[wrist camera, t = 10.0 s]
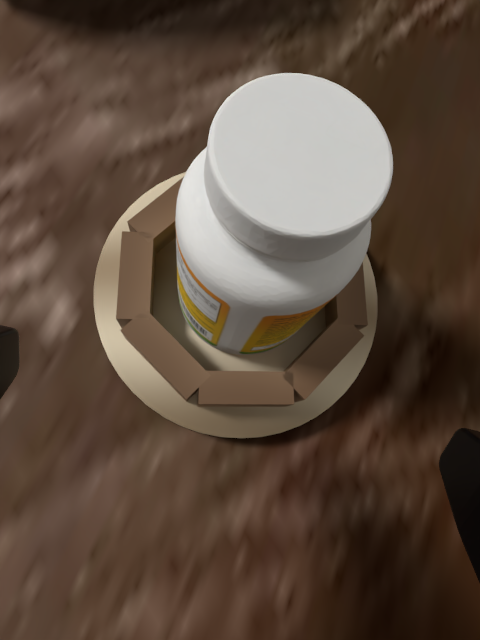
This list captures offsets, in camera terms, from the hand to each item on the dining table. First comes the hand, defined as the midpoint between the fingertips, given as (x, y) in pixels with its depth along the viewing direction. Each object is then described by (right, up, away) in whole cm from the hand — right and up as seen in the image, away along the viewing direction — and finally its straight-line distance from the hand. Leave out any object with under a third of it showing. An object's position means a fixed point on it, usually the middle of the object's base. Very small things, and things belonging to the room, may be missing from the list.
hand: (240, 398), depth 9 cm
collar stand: (0, +3, +11) cm, 11 cm away
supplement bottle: (0, +3, +10) cm, 10 cm away
